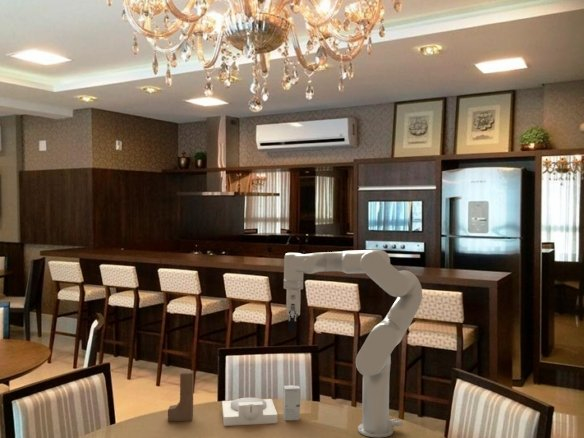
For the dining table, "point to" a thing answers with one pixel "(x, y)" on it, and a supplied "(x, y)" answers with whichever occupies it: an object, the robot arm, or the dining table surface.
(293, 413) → the skincare box
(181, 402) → the wooden block
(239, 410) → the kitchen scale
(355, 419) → the dining table surface
